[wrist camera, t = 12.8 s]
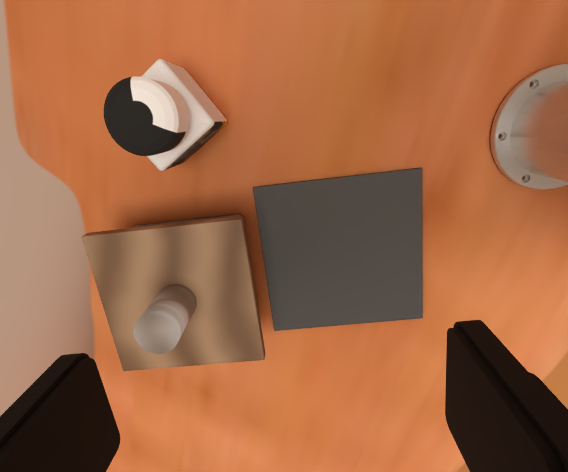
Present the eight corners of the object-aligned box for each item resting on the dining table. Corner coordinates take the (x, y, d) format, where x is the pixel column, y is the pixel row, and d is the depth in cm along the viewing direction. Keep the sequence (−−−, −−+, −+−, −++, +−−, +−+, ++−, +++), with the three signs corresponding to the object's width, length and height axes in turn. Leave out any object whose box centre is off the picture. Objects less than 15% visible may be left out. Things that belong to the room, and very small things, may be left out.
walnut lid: (243, 215, 35) (230, 239, 29) (265, 352, 40) (258, 401, 34) (88, 232, 37) (40, 259, 30) (128, 364, 41) (94, 412, 35)
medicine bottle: (183, 163, 41) (139, 181, 30) (137, 112, 39) (72, 110, 28) (229, 121, 39) (201, 124, 28) (183, 66, 38) (135, 45, 26)
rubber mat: (421, 167, 40) (422, 168, 40) (421, 316, 46) (422, 318, 46) (253, 186, 42) (252, 187, 41) (274, 329, 47) (274, 330, 47)
